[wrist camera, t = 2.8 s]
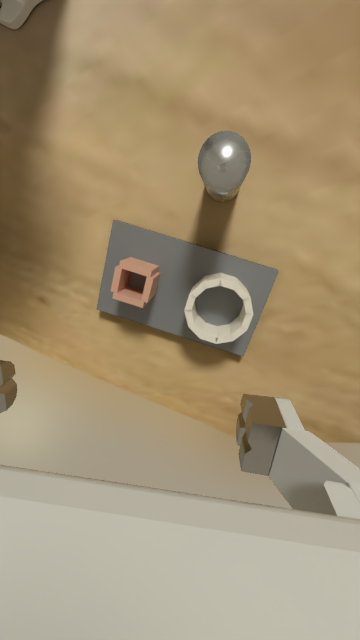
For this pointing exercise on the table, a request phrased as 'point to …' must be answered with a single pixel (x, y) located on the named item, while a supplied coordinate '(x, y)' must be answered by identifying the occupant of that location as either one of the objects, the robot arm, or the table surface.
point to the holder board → (183, 288)
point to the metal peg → (224, 164)
